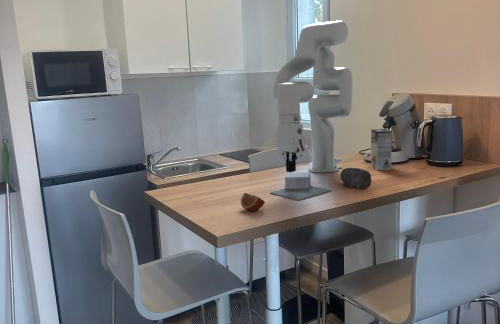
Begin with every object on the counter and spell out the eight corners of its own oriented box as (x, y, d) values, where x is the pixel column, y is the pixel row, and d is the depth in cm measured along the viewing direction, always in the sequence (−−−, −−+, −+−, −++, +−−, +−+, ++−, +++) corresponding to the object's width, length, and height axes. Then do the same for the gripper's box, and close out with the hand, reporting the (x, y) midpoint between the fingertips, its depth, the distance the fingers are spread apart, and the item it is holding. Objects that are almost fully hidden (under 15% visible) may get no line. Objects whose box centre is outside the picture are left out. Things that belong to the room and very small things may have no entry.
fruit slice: (236, 209, 134) (236, 193, 134) (255, 205, 138) (254, 190, 137) (250, 215, 127) (250, 199, 126) (269, 211, 131) (269, 195, 130)
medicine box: (285, 189, 154) (309, 189, 152) (284, 177, 153) (309, 176, 151) (287, 183, 161) (310, 183, 160) (286, 172, 160) (310, 172, 159)
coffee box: (370, 166, 186) (370, 129, 183) (385, 165, 186) (385, 128, 183) (376, 170, 177) (376, 131, 174) (392, 169, 177) (392, 130, 174)
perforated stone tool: (335, 183, 160) (335, 165, 159) (347, 181, 162) (347, 163, 161) (360, 192, 146) (360, 172, 145) (373, 190, 148) (373, 170, 147)
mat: (302, 184, 160) (302, 183, 160) (331, 191, 149) (331, 190, 149) (270, 193, 150) (270, 192, 150) (298, 201, 140) (298, 199, 139)
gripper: (312, 119, 145) (314, 172, 148) (282, 117, 157) (284, 167, 160) (296, 121, 140) (298, 176, 144) (266, 119, 152) (269, 170, 156)
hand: (291, 171), depth 152 cm, fingers closed
